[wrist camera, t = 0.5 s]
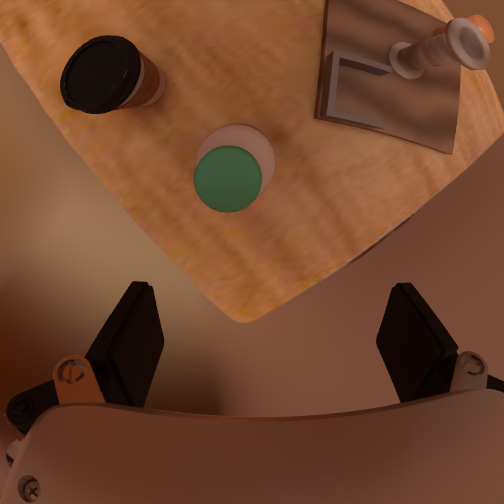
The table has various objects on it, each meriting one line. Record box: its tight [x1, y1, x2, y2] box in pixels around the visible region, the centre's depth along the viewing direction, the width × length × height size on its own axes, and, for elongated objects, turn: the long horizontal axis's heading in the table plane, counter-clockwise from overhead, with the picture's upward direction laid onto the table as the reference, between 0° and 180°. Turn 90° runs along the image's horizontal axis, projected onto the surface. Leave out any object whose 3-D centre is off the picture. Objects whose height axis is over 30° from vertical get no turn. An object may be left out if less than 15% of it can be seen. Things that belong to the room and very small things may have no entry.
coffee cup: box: [60, 35, 166, 114], centre depth 25 cm, size 8×8×15 cm
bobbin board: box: [314, 0, 490, 155], centre depth 22 cm, size 22×22×17 cm
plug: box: [434, 15, 494, 43], centre depth 21 cm, size 4×4×10 cm
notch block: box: [320, 50, 392, 129], centre depth 29 cm, size 8×8×4 cm
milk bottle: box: [194, 124, 276, 212], centre depth 27 cm, size 8×8×20 cm
